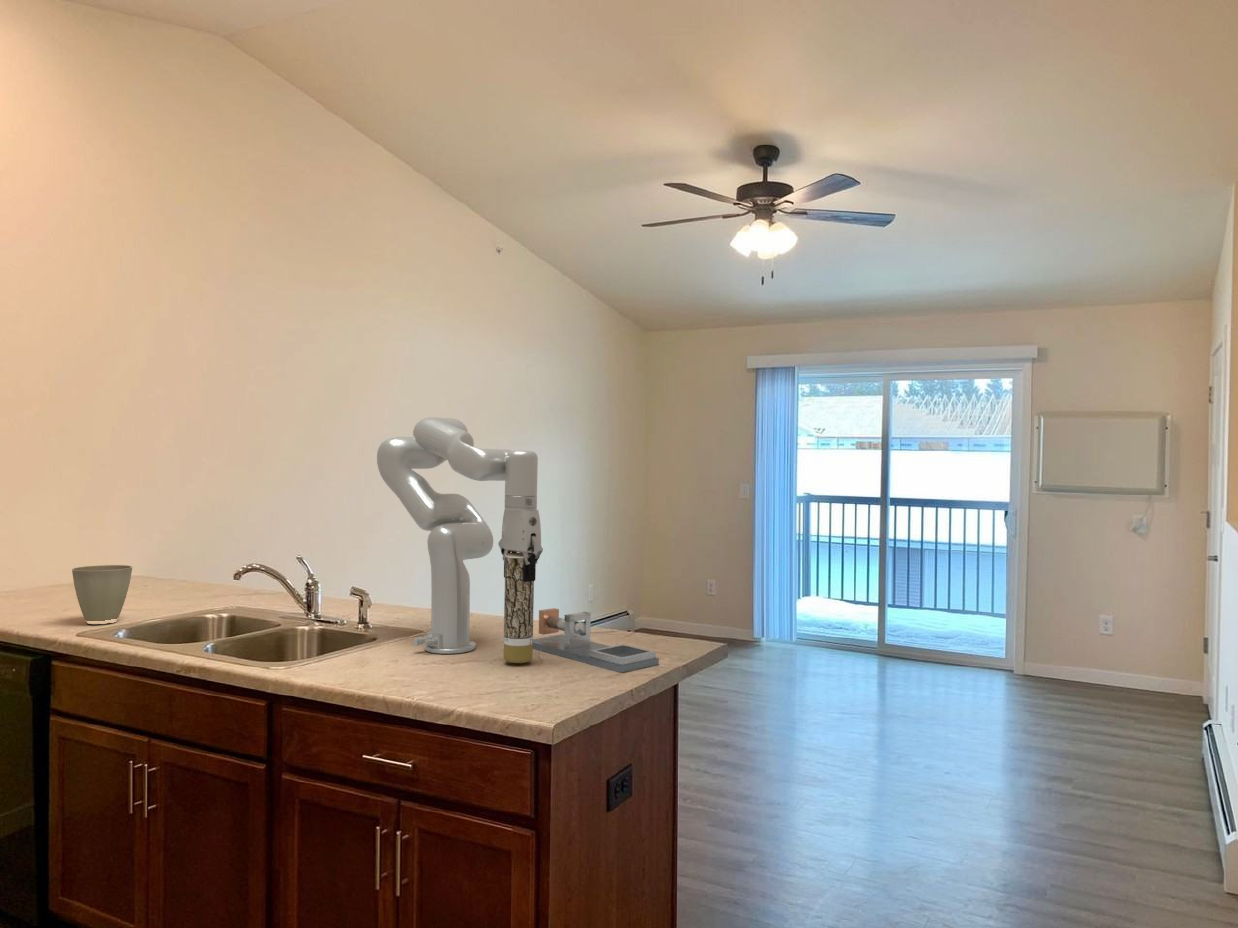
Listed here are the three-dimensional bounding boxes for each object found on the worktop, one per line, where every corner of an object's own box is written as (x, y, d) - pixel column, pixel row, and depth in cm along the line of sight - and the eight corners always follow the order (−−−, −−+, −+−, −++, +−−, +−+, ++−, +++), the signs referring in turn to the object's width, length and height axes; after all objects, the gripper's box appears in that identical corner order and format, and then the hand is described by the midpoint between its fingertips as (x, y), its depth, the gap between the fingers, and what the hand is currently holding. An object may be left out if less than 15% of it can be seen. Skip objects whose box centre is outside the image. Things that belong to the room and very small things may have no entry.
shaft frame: (621, 672, 192) (621, 630, 192) (525, 646, 219) (525, 609, 219) (658, 664, 201) (659, 623, 201) (561, 639, 227) (562, 604, 227)
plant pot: (124, 626, 240) (124, 570, 240) (63, 629, 236) (64, 571, 236) (138, 617, 254) (138, 563, 254) (81, 619, 250) (81, 565, 250)
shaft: (573, 642, 210) (573, 617, 210) (538, 633, 220) (538, 610, 220) (589, 639, 214) (589, 615, 214) (553, 630, 224) (554, 608, 224)
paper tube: (509, 665, 196) (511, 556, 196) (499, 658, 202) (501, 553, 202) (536, 662, 199) (538, 555, 199) (526, 655, 205) (528, 552, 205)
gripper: (556, 505, 196) (555, 582, 197) (512, 500, 209) (510, 573, 209) (530, 506, 191) (528, 585, 192) (486, 501, 204) (485, 576, 204)
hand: (519, 578), depth 201 cm, fingers closed on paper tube, 6 cm apart
